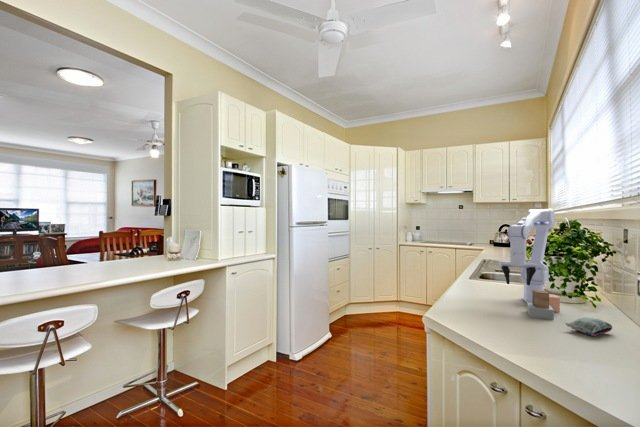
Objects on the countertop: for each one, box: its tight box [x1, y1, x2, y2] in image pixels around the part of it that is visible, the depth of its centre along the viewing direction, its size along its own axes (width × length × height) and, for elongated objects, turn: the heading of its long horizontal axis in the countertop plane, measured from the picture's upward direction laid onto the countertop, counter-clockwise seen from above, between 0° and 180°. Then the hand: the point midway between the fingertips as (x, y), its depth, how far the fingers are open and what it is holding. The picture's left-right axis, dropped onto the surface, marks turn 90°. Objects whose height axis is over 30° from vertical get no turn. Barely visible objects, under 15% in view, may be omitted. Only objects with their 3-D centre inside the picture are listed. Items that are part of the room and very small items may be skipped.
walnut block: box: [532, 289, 550, 308], centre depth 131 cm, size 4×4×6 cm
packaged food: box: [565, 317, 613, 337], centre depth 112 cm, size 9×12×5 cm
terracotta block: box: [549, 294, 561, 313], centre depth 138 cm, size 4×4×6 cm
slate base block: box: [526, 303, 555, 321], centre depth 131 cm, size 8×8×4 cm
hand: (517, 284), depth 140 cm, fingers open, 7 cm apart
